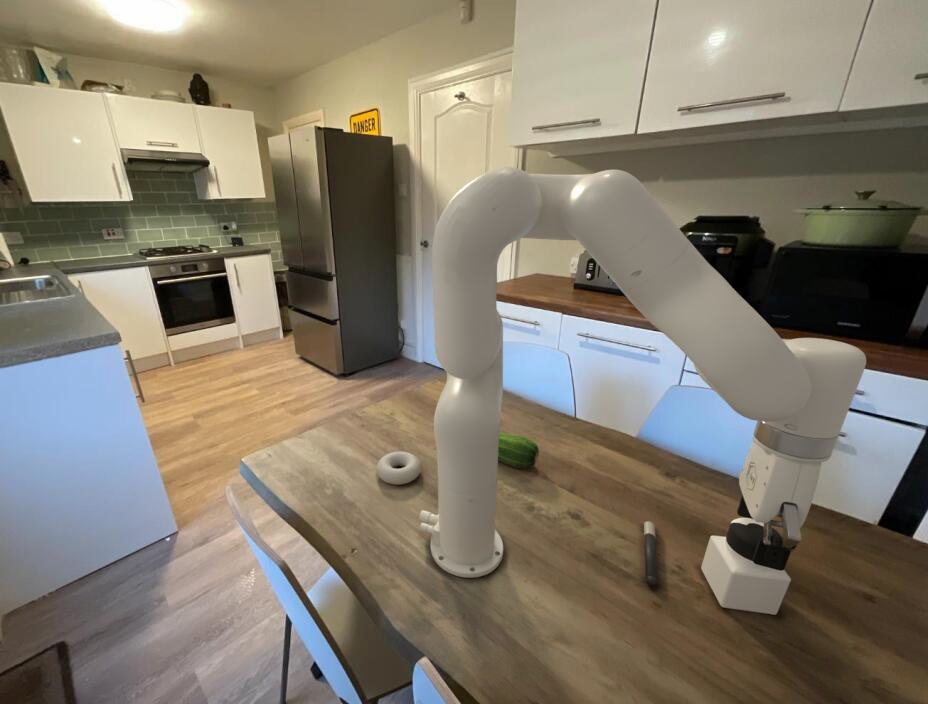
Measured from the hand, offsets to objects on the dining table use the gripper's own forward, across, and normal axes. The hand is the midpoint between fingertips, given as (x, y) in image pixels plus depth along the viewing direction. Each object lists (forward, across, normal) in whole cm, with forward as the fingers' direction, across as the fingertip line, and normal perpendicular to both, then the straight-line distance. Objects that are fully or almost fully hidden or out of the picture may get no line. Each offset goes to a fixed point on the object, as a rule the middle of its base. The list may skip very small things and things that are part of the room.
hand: (758, 539), depth 58 cm
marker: (+10, -2, -12) cm, 16 cm away
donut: (+9, -5, -62) cm, 63 cm away
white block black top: (+10, 0, -1) cm, 10 cm away
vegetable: (+10, -20, -44) cm, 49 cm away
